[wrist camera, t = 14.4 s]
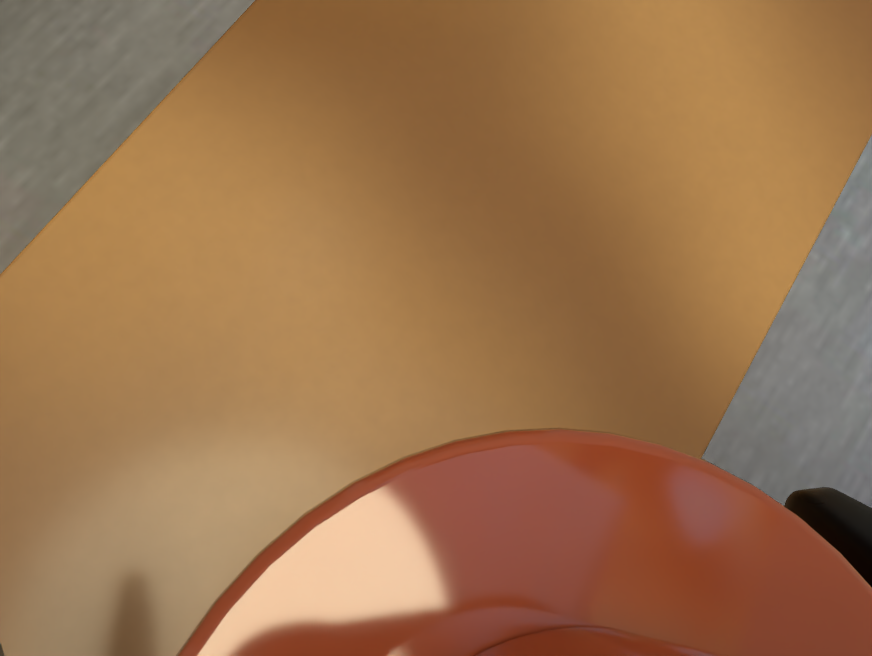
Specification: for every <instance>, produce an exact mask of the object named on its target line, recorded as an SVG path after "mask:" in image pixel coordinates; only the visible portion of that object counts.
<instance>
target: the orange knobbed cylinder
mask: <svg viewBox="0 0 872 656" xmlns="http://www.w3.org/2000/svg"><path fill="white" fill-rule="evenodd" d="M176 656H872V587H871V586H870V585H869V584H868V583H867V582H866V581H865V580H864V579H863V577H862V576H861V575H860V574H859V573H858V572H857V571H856V570H855V569H854V568H853V566H852V565H851V564H850V563H849V562H848V561H847V560H846V559H845V558H844V557H843V555H842V554H841V553H840V552H839V551H837V550H836V549H835V548H834V547H833V546H832V545H831V544H830V543H828V542H827V541H826V540H825V539H824V538H823V537H822V536H820V535H819V534H818V533H817V532H816V531H815V530H814V529H812V528H811V527H810V526H809V525H808V524H807V523H806V522H804V521H803V520H802V519H801V518H800V517H799V516H797V515H796V514H794V513H793V512H792V511H790V510H789V509H787V508H786V507H784V506H783V505H781V504H780V503H778V502H777V501H776V500H774V499H773V498H771V497H770V496H768V495H767V494H765V493H764V492H762V491H761V490H760V489H758V488H757V487H755V486H754V485H752V484H750V483H749V482H747V481H745V480H743V479H741V478H739V477H737V476H735V475H733V474H731V473H729V472H727V471H725V470H723V469H722V468H720V467H718V466H716V465H714V464H712V463H710V462H708V461H706V460H703V459H701V458H698V457H695V456H692V455H690V454H687V453H684V452H682V451H679V450H676V449H673V448H671V447H668V446H665V445H662V444H660V443H656V442H652V441H647V440H643V439H638V438H634V437H629V436H625V435H620V434H616V433H611V432H604V431H592V430H581V429H569V428H538V429H518V430H504V431H499V432H494V433H488V434H483V435H478V436H472V437H467V438H462V439H456V440H452V441H449V442H446V443H443V444H440V445H437V446H434V447H431V448H428V449H425V450H422V451H419V452H416V453H413V454H410V455H407V456H404V457H402V458H400V459H398V460H396V461H394V462H392V463H390V464H387V465H385V466H383V467H381V468H379V469H377V470H375V471H373V472H371V473H369V474H367V475H365V476H363V477H361V478H359V479H357V480H355V481H353V482H351V483H350V484H348V485H347V486H345V487H344V488H342V489H341V490H339V491H337V492H336V493H334V494H333V495H331V496H330V497H328V498H327V499H325V500H324V501H322V502H321V503H319V504H318V505H316V506H315V507H313V508H312V509H310V510H309V511H307V512H306V513H304V514H303V515H302V516H301V517H299V518H298V519H297V520H296V521H295V522H294V523H292V524H291V525H290V526H289V527H288V528H287V529H286V530H284V531H283V532H282V533H281V534H280V535H279V536H277V537H276V538H275V539H274V540H273V541H272V542H270V543H269V544H268V545H267V546H266V547H265V548H263V549H262V550H261V551H260V552H259V553H258V554H257V555H256V556H255V557H254V558H253V559H252V560H251V561H250V562H249V564H248V565H247V566H246V567H245V568H244V569H243V570H242V571H241V572H240V573H239V575H238V576H237V577H236V578H235V579H234V580H233V581H232V582H231V583H230V584H229V586H228V587H227V588H226V589H225V590H224V591H223V592H222V593H221V594H220V596H219V597H218V598H217V599H216V600H215V601H214V602H213V604H212V605H211V607H210V608H209V610H208V611H207V612H206V614H205V615H204V617H203V618H202V619H201V621H200V622H199V624H198V625H197V626H196V628H195V629H194V631H193V632H192V634H191V635H190V636H189V638H188V639H187V641H186V642H185V643H184V645H183V646H182V648H181V649H180V650H179V652H178V653H177V655H176Z"/></svg>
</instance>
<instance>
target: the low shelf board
mask: <svg viewBox="0 0 872 656" xmlns="http://www.w3.org/2000/svg"><path fill="white" fill-rule="evenodd" d="M871 135H872V0H255V1H254V2H253V3H252V4H251V6H250V7H249V8H248V9H247V10H246V11H245V12H244V13H243V14H242V15H241V16H240V17H239V18H238V20H237V21H236V22H235V23H234V24H233V25H232V26H231V27H230V28H229V29H228V30H227V31H226V32H225V34H224V35H223V36H222V37H221V38H220V39H219V40H218V41H217V42H216V43H215V44H214V45H213V46H212V47H211V49H210V50H209V51H208V52H207V53H206V54H205V55H204V56H203V57H202V58H201V59H200V60H199V61H198V63H197V64H196V65H195V66H194V67H193V68H192V69H191V70H190V71H189V72H188V73H187V74H186V75H185V77H184V78H183V79H182V80H181V81H180V82H179V83H178V84H177V85H176V86H175V87H174V88H173V89H172V90H171V92H170V93H169V94H168V95H167V96H166V97H165V98H164V99H163V100H162V101H161V102H160V103H159V104H158V106H157V107H156V108H155V109H154V110H153V111H152V112H151V113H150V114H149V115H148V116H147V117H146V118H145V120H144V121H143V122H142V123H141V124H140V125H139V126H138V127H137V128H136V129H135V130H134V131H133V132H132V133H131V135H130V136H129V137H128V138H127V139H126V140H125V141H124V142H123V143H122V144H121V145H120V146H119V147H118V149H117V150H116V151H115V152H114V153H113V154H112V155H111V156H110V157H109V158H108V159H107V160H106V161H105V163H104V164H103V165H102V166H101V167H100V168H99V169H98V170H97V171H96V172H95V173H94V174H93V175H92V176H91V178H90V179H89V180H88V181H87V182H86V183H85V184H84V185H83V186H82V187H81V188H80V189H79V190H78V192H77V193H76V194H75V195H74V196H73V197H72V198H71V199H70V200H69V201H68V202H67V203H66V204H65V206H64V207H63V208H62V209H61V210H60V211H59V212H58V213H57V214H56V215H55V216H54V217H53V218H52V219H51V221H50V222H49V223H48V224H47V225H46V226H45V227H44V228H43V229H42V230H41V231H40V232H39V233H38V235H37V236H36V237H35V238H34V239H33V240H32V241H31V242H30V243H29V244H28V245H27V246H26V247H25V249H24V250H23V251H22V252H21V253H20V254H19V255H18V256H17V257H16V258H15V259H14V260H13V261H12V262H11V264H10V265H9V266H8V267H7V268H6V269H5V270H4V271H3V272H2V273H1V274H0V643H1V646H2V649H3V652H4V656H176V655H177V653H178V652H179V650H180V649H181V648H182V646H183V645H184V643H185V642H186V641H187V639H188V638H189V636H190V635H191V634H192V632H193V631H194V629H195V628H196V626H197V625H198V624H199V622H200V621H201V619H202V618H203V617H204V615H205V614H206V612H207V611H208V610H209V608H210V607H211V605H212V604H213V602H214V601H215V600H216V599H217V598H218V597H219V596H220V594H221V593H222V592H223V591H224V590H225V589H226V588H227V587H228V586H229V584H230V583H231V582H232V581H233V580H234V579H235V578H236V577H237V576H238V575H239V573H240V572H241V571H242V570H243V569H244V568H245V567H246V566H247V565H248V564H249V562H250V561H251V560H252V559H253V558H254V557H255V556H256V555H257V554H258V553H259V552H260V551H261V550H262V549H263V548H265V547H266V546H267V545H268V544H269V543H270V542H272V541H273V540H274V539H275V538H276V537H277V536H279V535H280V534H281V533H282V532H283V531H284V530H286V529H287V528H288V527H289V526H290V525H291V524H292V523H294V522H295V521H296V520H297V519H298V518H299V517H301V516H302V515H303V514H304V513H306V512H307V511H309V510H310V509H312V508H313V507H315V506H316V505H318V504H319V503H321V502H322V501H324V500H325V499H327V498H328V497H330V496H331V495H333V494H334V493H336V492H337V491H339V490H341V489H342V488H344V487H345V486H347V485H348V484H350V483H351V482H353V481H355V480H357V479H359V478H361V477H363V476H365V475H367V474H369V473H371V472H373V471H375V470H377V469H379V468H381V467H383V466H385V465H387V464H390V463H392V462H394V461H396V460H398V459H400V458H402V457H404V456H407V455H410V454H413V453H416V452H419V451H422V450H425V449H428V448H431V447H434V446H437V445H440V444H443V443H446V442H449V441H452V440H456V439H462V438H467V437H472V436H478V435H483V434H488V433H494V432H499V431H504V430H518V429H538V428H569V429H581V430H592V431H604V432H611V433H616V434H620V435H625V436H629V437H634V438H638V439H643V440H647V441H652V442H656V443H660V444H662V445H665V446H668V447H671V448H673V449H676V450H679V451H682V452H684V453H687V454H690V455H692V456H695V457H698V458H702V456H703V454H704V452H705V450H706V448H707V446H708V444H709V442H710V440H711V439H712V437H713V435H714V433H715V431H716V429H717V427H718V425H719V423H720V422H721V420H722V418H723V416H724V414H725V412H726V410H727V408H728V406H729V404H730V403H731V401H732V399H733V397H734V395H735V393H736V391H737V389H738V387H739V385H740V384H741V382H742V380H743V378H744V376H745V374H746V372H747V370H748V368H749V366H750V365H751V363H752V361H753V359H754V357H755V355H756V353H757V351H758V349H759V347H760V346H761V344H762V342H763V340H764V338H765V336H766V334H767V332H768V330H769V329H770V327H771V325H772V323H773V321H774V319H775V317H776V315H777V313H778V311H779V310H780V308H781V306H782V304H783V302H784V300H785V298H786V296H787V294H788V292H789V291H790V289H791V287H792V285H793V283H794V281H795V279H796V277H797V275H798V273H799V272H800V270H801V268H802V266H803V264H804V262H805V260H806V258H807V256H808V255H809V253H810V251H811V249H812V247H813V245H814V243H815V241H816V239H817V237H818V236H819V234H820V232H821V230H822V228H823V226H824V224H825V222H826V220H827V218H828V217H829V215H830V213H831V211H832V209H833V207H834V205H835V203H836V201H837V199H838V198H839V196H840V194H841V192H842V190H843V188H844V186H845V184H846V182H847V180H848V179H849V177H850V175H851V173H852V171H853V169H854V167H855V165H856V163H857V162H858V160H859V158H860V156H861V154H862V152H863V150H864V148H865V146H866V144H867V143H868V141H869V139H870V137H871Z"/></svg>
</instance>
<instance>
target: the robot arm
mask: <svg viewBox="0 0 872 656" xmlns="http://www.w3.org/2000/svg"><path fill="white" fill-rule="evenodd" d="M784 507H786V508H787V509H789V510H790V511H792V512H793V513H794V514H796V515H797V516H799V517H800V518H801V519H802V520H803V521H804V522H806V523H807V524H808V525H809V526H810V527H811V528H812V529H814V530H815V531H816V532H817V533H818V534H819V535H820V536H822V537H823V538H824V539H825V540H826V541H827V542H828V543H830V544H831V545H832V546H833V547H834V548H835V549H836V550H837V551H839V552H840V553H841V554H842V555H843V557H844V558H845V559H846V560H847V561H848V562H849V563H850V564H851V565H852V566H853V568H854V569H855V570H856V571H857V572H858V573H859V574H860V575H861V576H862V577H863V579H864V580H865V581H866V582H867V583H868V584H869V585H870V586H871V587H872V508H870V507H868V506H866V505H865V504H863V503H861V502H859V501H857V500H855V499H853V498H851V497H849V496H847V495H845V494H843V493H842V492H840V491H838V490H835V489H833V488H827V487H822V488H813V489H805V490H798V491H795V492H793V493H792V494H791V495H790V496H789V497H788V498H787V500H786V503H785V506H784ZM0 656H4V652H3V649H2V646H1V643H0Z"/></svg>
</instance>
